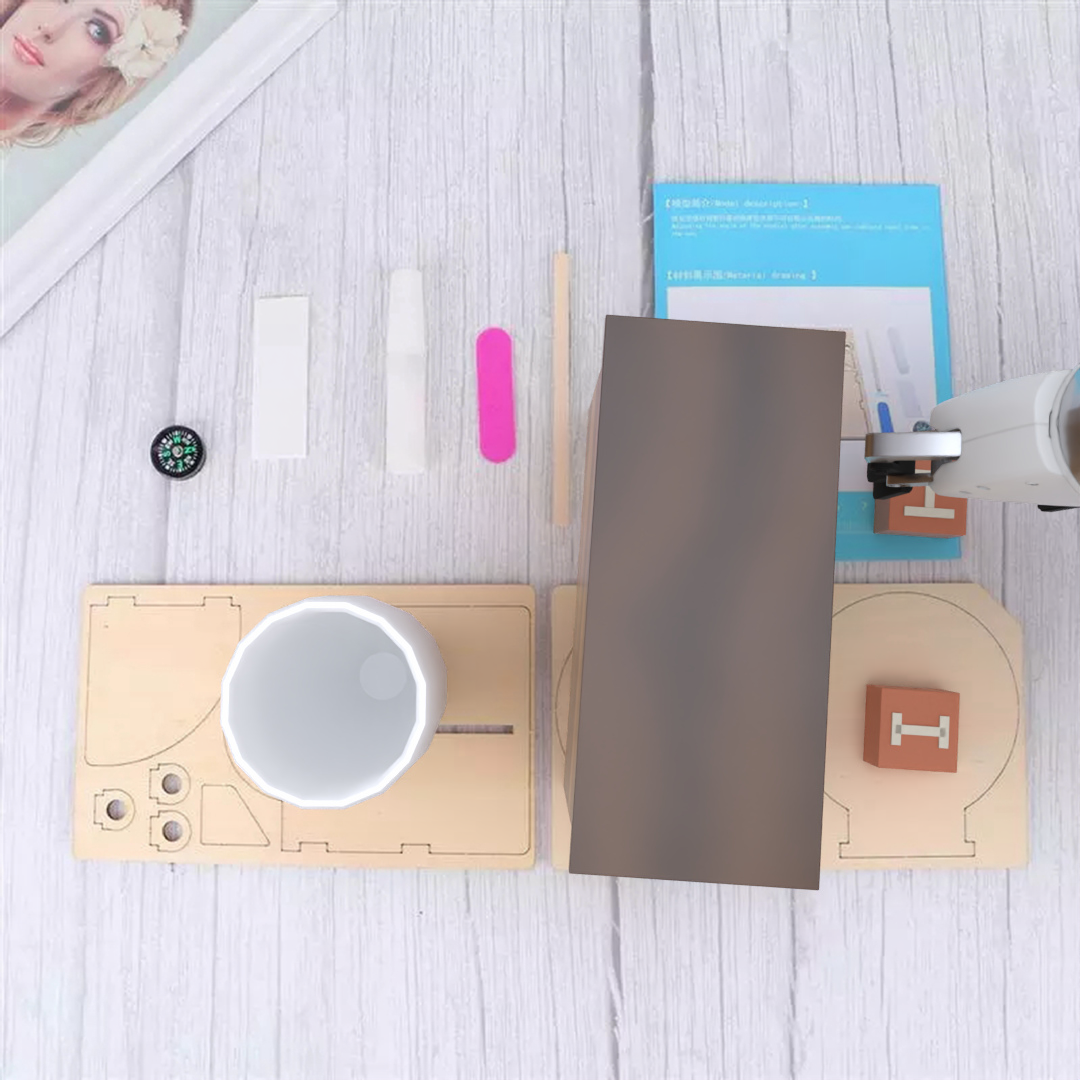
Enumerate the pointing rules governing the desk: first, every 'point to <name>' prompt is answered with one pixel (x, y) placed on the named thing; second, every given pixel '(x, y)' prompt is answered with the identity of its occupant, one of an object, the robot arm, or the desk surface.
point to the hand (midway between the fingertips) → (961, 478)
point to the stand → (581, 598)
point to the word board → (709, 604)
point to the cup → (332, 700)
